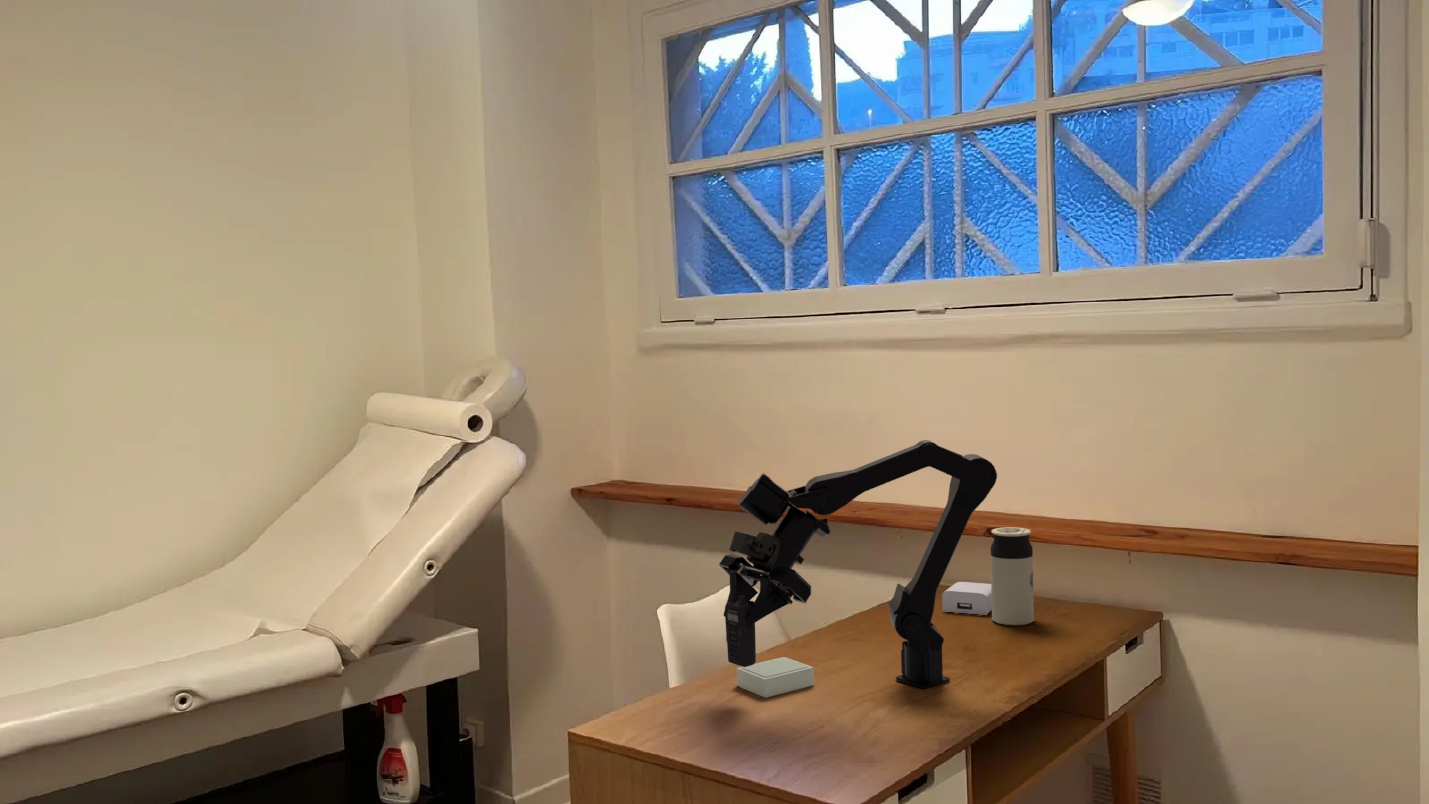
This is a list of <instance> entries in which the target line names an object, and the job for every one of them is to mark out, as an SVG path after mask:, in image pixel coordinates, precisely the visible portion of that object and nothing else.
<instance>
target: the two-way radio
mask: <svg viewBox="0 0 1429 804" xmlns="http://www.w3.org/2000/svg"><path fill="white" fill-rule="evenodd" d="M729 593H730V602H727V601H726V603H725V606H724V611H725V617H724V619H725V620H724V621H725V633H726V635H725V637H726V638H725V640H726V644H727V645H726V646H727V649H726V650H727V661H728V662H729V663H731V664H733V665H736V666H738V667H747V666H751V665H754V664H756V661H757V660H756V659H757V655H756V653H757V649H756V648H757V647H756V622H755V623H754V624H752V625H750V626H747V625H746V624H745V623H744V621H745V618H746V616H747V614H748V612H749V610H750V609H751V607H752V605H753V603H754V602H755V600H750V601H748V602H747V603H746V599H745V596H744V595H740V596H739V599H738V601H737V598H736V584H735V573H734V571H730V576H729Z"/></svg>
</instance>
